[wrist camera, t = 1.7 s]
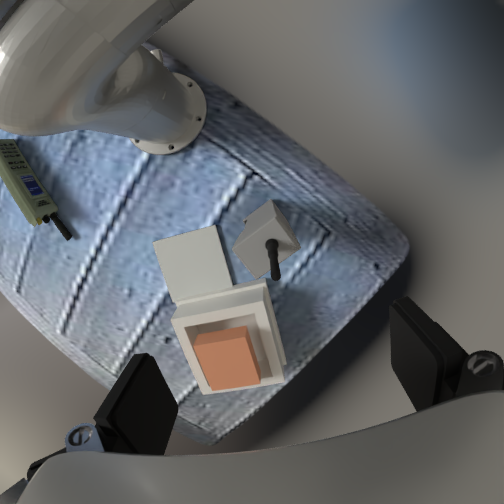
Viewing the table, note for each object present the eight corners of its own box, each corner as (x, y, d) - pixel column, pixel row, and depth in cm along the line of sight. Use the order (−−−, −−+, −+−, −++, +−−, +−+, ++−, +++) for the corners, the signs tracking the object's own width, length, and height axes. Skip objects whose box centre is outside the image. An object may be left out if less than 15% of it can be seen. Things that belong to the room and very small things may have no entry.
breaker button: (197, 334, 40) (193, 346, 37) (246, 325, 39) (245, 336, 36) (215, 378, 42) (212, 391, 39) (260, 370, 41) (260, 383, 38)
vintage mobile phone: (242, 219, 43) (218, 282, 19) (271, 198, 42) (283, 234, 18) (258, 240, 43) (254, 325, 19) (286, 219, 43) (318, 281, 18)
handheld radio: (14, 136, 40) (79, 230, 44) (7, 149, 41) (70, 242, 45) (-9, 136, 33) (55, 240, 38) (-16, 150, 34) (47, 253, 39)
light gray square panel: (153, 241, 44) (152, 242, 43) (215, 224, 43) (215, 225, 42) (174, 301, 46) (173, 302, 46) (234, 288, 46) (233, 289, 45)
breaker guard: (178, 296, 46) (166, 316, 39) (265, 277, 45) (266, 296, 38) (207, 371, 50) (201, 397, 43) (285, 357, 49) (288, 383, 42)
